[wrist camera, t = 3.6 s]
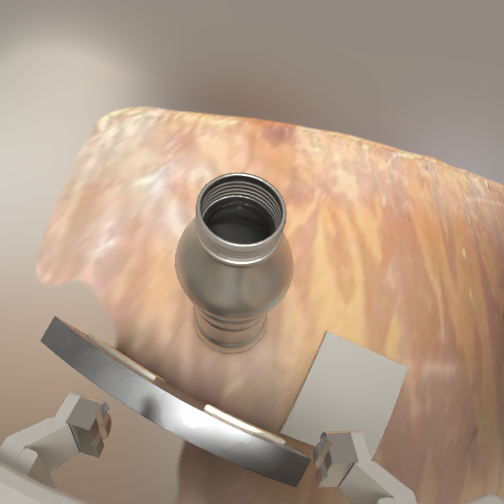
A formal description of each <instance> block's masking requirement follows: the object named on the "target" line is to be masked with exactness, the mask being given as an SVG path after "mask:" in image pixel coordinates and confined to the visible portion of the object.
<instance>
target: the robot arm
mask: <svg viewBox="0 0 504 504" xmlns="http://www.w3.org/2000/svg"><path fill="white" fill-rule="evenodd" d="M108 409H109V408H108V404H107V403H106V402H103V401H100V400H97V399H94V398H91V397H87V396H84V395H81V394H78V393H75V392H71V393H69V394H68V396H67V398H66V399H65V401H64V402H63V404H62V406H61V407H60V409H59V410H58V412H57V414H56V415H55V417H54V418H51V417H50V418H48V419H46V420H44V421H42V422H40V423H37V424H35V425H33V426H31V427H28V428H26V429H24V430H22V431H20V432H17V433H15V434H13V435H11V436H8V437H7V438H6V440H5V441H4V443H3V444H2V446H1V448H0V504H94V503H90V502H88V501H85V500H82V499H80V498H77V497H74V496H72V495H69V494H66V493H64V492H62V491H59V490H57V489H56V484H55V482H54V481H53V479H52V478H51V476H50V473H51V472H53V471H54V470H56V469H57V468H59V467H60V466H62V465H63V464H64V463H66V462H68V461H69V460H70V459H72V458H73V457H75V456H76V455H78V454H79V452H82V453H85V454H88V455H92V456H95V457H98V458H99V457H100V455H101V452H102V450H103V447H104V443H103V440H104V439H106V438H108V436H109V433H110V429H111V417H110V415H109V414H108V413H107V411H108ZM320 440H321V441H320V442H319V443H317V444H316V447H315V449H314V455H313V456H314V465H315V466H316V467H317V468H318V471H317V472H316V480H317V486H318V487H338V488H339V489H340V490H341V491H342V493H343V494H344V495H345V496H346V497H347V498H348V499H349V501H350V502H351V503H352V504H417V501H416V498H415V495H414V492H413V491H411V490H410V489H409V488H408V487H406V486H405V485H404V484H403V483H401V482H400V481H399V480H397V479H396V478H395V477H394V476H392V475H391V474H390V473H389V472H387V471H386V470H385V469H384V468H383V467H381V466H380V465H379V464H378V463H377V462H375V461H371V458H370V455H369V452H368V449H367V446H366V442H365V439H364V436H363V433H362V432H361V431H324V432H322V434H321V436H320ZM460 504H504V499H502V498H500V497H499V496H496V495H494V494H491V493H489V494H485V495H482V496H479V497H477V498H474V499H471V500H469V501H466V502H463V503H460Z"/></svg>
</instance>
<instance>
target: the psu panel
mask: <svg viewBox="0 0 504 504" xmlns="http://www.w3.org/2000/svg"><path fill="white" fill-rule="evenodd" d="M41 342H43V344H45V345H46V346H47V347H48V348H49V349H50V350H52V351H53V352H54V353H55V354H56V355H58V356H59V357H60V358H61V359H63V360H64V361H65V362H66V363H68V364H69V365H70V366H71V367H73V368H74V369H75V370H77V371H78V372H79V373H81V374H82V375H83V376H85V377H86V378H87V379H89V380H90V381H92V382H93V383H94V384H96V385H97V386H98V387H100V388H101V389H103V390H104V391H105V392H107V393H108V394H110V395H111V396H113V397H114V398H116V399H117V400H119V401H120V402H122V403H123V404H125V405H126V406H128V407H130V408H131V409H133V410H134V411H136V412H137V413H139V414H141V415H142V416H144V417H146V418H147V419H149V420H151V421H152V422H154V423H156V424H158V425H159V426H161V427H163V428H165V429H166V430H168V431H170V432H172V433H173V434H175V435H177V436H179V437H181V438H183V439H184V440H186V441H188V442H190V443H192V444H194V445H196V446H198V447H200V448H202V449H204V450H206V451H208V452H210V453H212V454H214V455H217V456H219V457H221V458H223V459H225V460H227V461H230V462H232V463H234V464H237V465H239V466H241V467H244V468H246V469H248V470H251V471H253V472H256V473H258V474H261V475H263V476H266V477H269V478H271V479H274V480H277V481H279V482H282V483H285V484H288V485H291V486H294V487H297V485H298V483H299V481H300V480H301V478H302V476H303V474H304V472H305V470H306V468H307V466H308V465H309V463H310V461H311V459H310V458H309V457H307V456H306V455H304V454H302V453H301V452H299V451H298V450H296V449H295V448H293V447H291V446H290V445H288V444H287V443H285V440H283V439H281V438H280V437H278V436H277V435H275V434H273V433H270V432H268V431H266V430H263V429H261V428H259V427H256V426H254V425H252V424H250V423H247V422H245V421H243V420H241V419H239V418H237V417H235V416H232V415H230V414H228V413H226V412H224V411H222V410H220V409H218V408H216V407H214V406H212V405H210V404H205V403H203V402H201V401H199V400H197V399H195V398H193V397H192V396H190V395H188V394H186V393H184V392H182V391H181V390H179V389H177V388H175V387H174V386H172V385H170V384H168V383H167V382H165V380H164V379H163V378H161V377H159V376H158V375H156V374H154V373H153V372H151V371H149V370H148V369H146V368H144V367H143V366H141V365H139V364H138V363H136V362H135V361H133V360H132V359H130V358H128V357H127V356H125V355H124V354H122V353H121V352H119V351H118V350H116V349H115V348H113V347H112V346H110V345H109V344H107V343H105V342H104V341H101V340H100V339H98V338H97V337H95V336H93V335H91V334H89V336H88V335H86V334H85V333H83V332H81V331H79V330H77V329H76V328H74V327H72V326H70V325H69V324H67V323H66V322H64V321H62V320H61V319H59V318H57V317H56V316H55V317H54V318H53V320H52V322H51V324H50V325H49V327H48V329H47V330H46V332H45V334H44V336H43V338H42V339H41Z"/></svg>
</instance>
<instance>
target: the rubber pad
mask: <svg viewBox="0 0 504 504" xmlns="http://www.w3.org/2000/svg"><path fill="white" fill-rule="evenodd" d="M407 369H408V367H407V366H404V365H402V364H400V363H397V362H395V361H393V360H391V359H388V358H386V357H384V356H382V355H379V354H377V353H375V352H373V351H370V350H368V349H366V348H364V347H362V346H359V345H357V344H355V343H353V342H351V341H348V340H346V339H344V338H342V337H340V336H338V335H335V334H333V333H331V332H329V331H327V332H326V333H325V335H324V337H323V340H322V342H321V344H320V347H319V349H318V351H317V354H316V356H315V358H314V361H313V363H312V365H311V367H310V370H309V372H308V374H307V376H306V379H305V381H304V383H303V385H302V387H301V389H300V391H299V394H298V396H297V398H296V400H295V402H294V404H293V406H292V408H291V410H290V412H289V414H288V416H287V418H286V420H285V422H284V424H283V426H282V428H281V430H280V432H279V433H281V434H284V435H286V436H289V437H291V438H294V439H296V440H299V441H302V442H304V443H307V444H309V445H312V446H315V447H316V444H317V443H319V442H320V441H321V440H320V436H321V434H322V432H324V431H361V432H362V433H363V436H364V439H365V442H366V446H367V449H368V452H369V455H370V458H371V461H372V459H373V457H374V455H375V453H376V450H377V448H378V446H379V444H380V441H381V439H382V437H383V434H384V432H385V429H386V427H387V424H388V422H389V419H390V417H391V414H392V412H393V409H394V406H395V404H396V401H397V398H398V395H399V393H400V390H401V387H402V384H403V381H404V378H405V375H406V372H407Z"/></svg>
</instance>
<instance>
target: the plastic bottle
mask: <svg viewBox="0 0 504 504" xmlns="http://www.w3.org/2000/svg"><path fill="white" fill-rule="evenodd" d="M285 222H286V206H285V203H284V200H283V198H282V196H281V194H280V193H279V191H278V190H277V189H276V188H275V187H274V186H273V185H272V184H270V183H269V182H268V181H266V180H264V179H262V178H260V177H258V176H255V175H252V174H247V173H229V174H224V175H221V176H218V177H217V178H215V179H213V180H211V181H210V182H209V183H207V184H206V185H205V187H204V188H203V189H202V190H201V192H200V194H199V196H198V200H197V204H196V217H195V219H194V220H192V221H191V222H190V223H189V225H188V226H187V227H186V229H185V230H184V232H183V234H182V236H181V238H180V240H179V243H178V246H177V250H176V254H175V268H176V273H177V277H178V279H179V282H180V284H181V286H182V288H183V290H184V292H185V293H186V295H187V296H188V297H189V299H190V300H191V301H192V302H193V303H194V309H193V323H194V327H195V329H196V331H197V333H198V335H199V336H200V338H201V339H202V340H203V341H204V342H205V343H206V344H207V345H208V346H210V347H212V348H213V349H215V350H218V351H220V352H225V353H238V352H243V351H246V350H248V349H250V348H251V347H253V346H254V345H256V344H257V343H258V342H259V340H260V339H261V338H262V336H263V334H264V332H265V329H266V324H267V312H269V311H270V310H271V309H273V308H274V307H275V306H276V305H277V304H278V303H279V302H280V300H281V299H282V298H283V297H284V296H285V294H286V292H287V290H288V289H289V287H290V284H291V280H292V277H293V259H292V253H291V248H290V245H289V243H288V240H287V238H286V236H285V235H284V233H283V228H284V225H285Z"/></svg>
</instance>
